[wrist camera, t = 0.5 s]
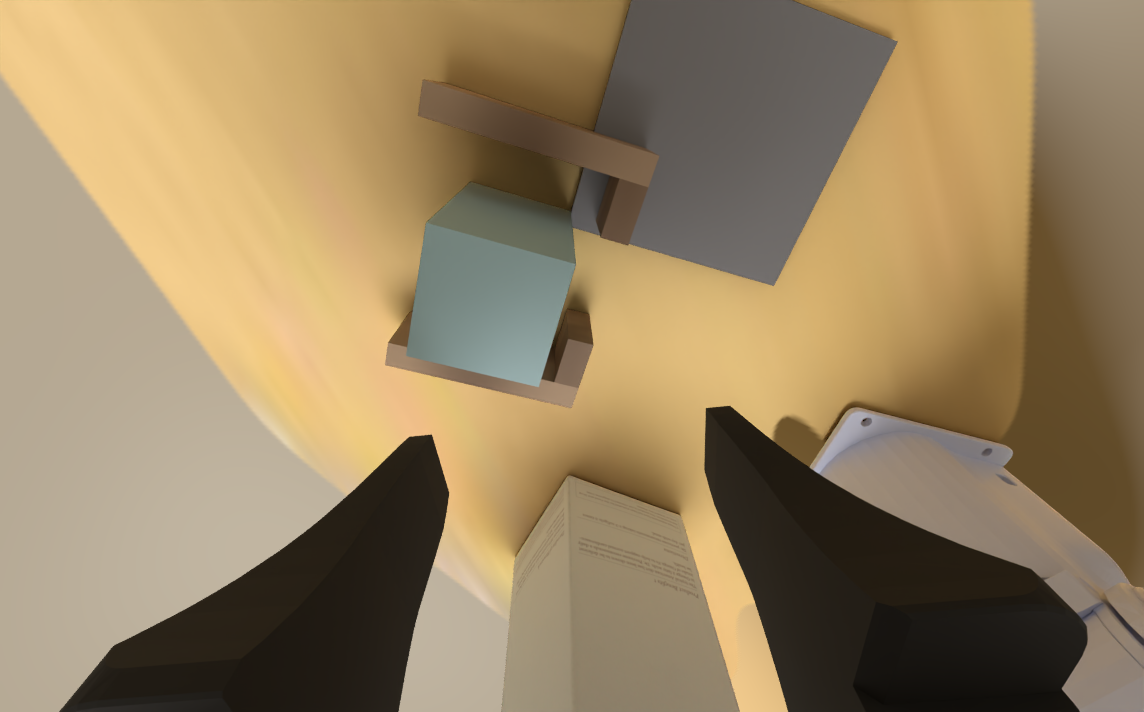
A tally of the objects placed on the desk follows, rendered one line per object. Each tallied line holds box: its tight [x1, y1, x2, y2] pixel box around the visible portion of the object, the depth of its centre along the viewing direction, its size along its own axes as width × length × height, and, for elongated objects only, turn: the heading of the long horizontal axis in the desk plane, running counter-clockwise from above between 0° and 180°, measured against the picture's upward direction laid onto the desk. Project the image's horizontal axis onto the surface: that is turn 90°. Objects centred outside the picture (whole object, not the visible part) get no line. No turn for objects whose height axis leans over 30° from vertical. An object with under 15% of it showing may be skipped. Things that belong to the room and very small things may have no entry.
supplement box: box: [501, 476, 740, 712], centre depth 22 cm, size 7×7×13 cm
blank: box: [406, 182, 576, 387], centre depth 17 cm, size 4×4×7 cm
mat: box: [571, 0, 897, 286], centre depth 18 cm, size 9×9×1 cm
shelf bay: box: [385, 80, 659, 408], centre depth 18 cm, size 8×10×3 cm
